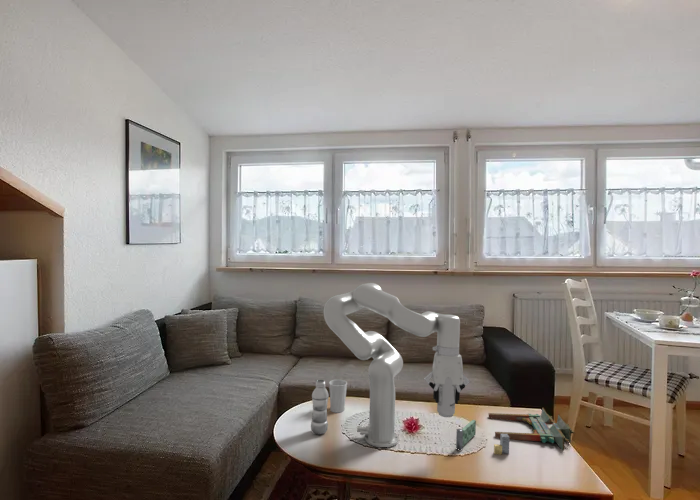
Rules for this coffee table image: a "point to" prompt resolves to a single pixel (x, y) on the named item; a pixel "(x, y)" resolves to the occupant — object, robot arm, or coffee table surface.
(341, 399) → the cup
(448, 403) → the energy drink can
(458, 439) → the hinge post
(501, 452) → the grey and yellow block
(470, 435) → the gate
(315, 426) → the plastic bottle
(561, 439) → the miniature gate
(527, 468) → the coffee table surface
